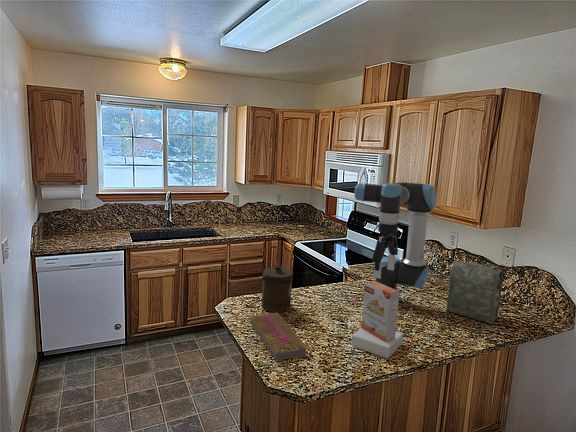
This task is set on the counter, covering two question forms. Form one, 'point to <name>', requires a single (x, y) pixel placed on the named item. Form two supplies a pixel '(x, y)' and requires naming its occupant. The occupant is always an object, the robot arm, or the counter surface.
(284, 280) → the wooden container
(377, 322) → the cracker box
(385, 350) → the marble slab
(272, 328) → the brown and pink box
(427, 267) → the robot arm
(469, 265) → the bag
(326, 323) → the counter surface
